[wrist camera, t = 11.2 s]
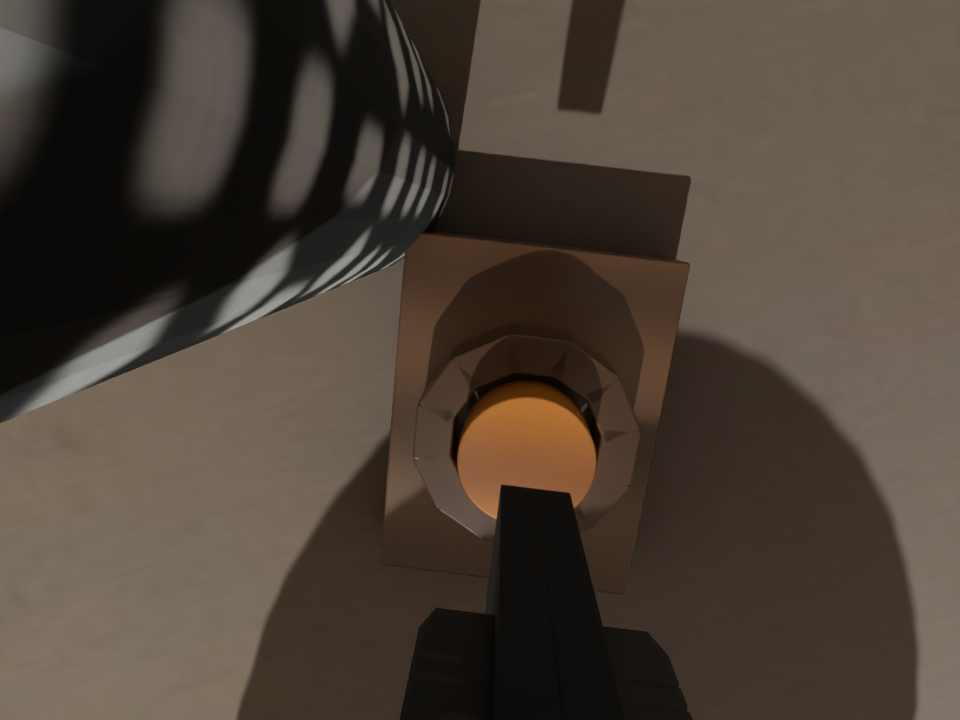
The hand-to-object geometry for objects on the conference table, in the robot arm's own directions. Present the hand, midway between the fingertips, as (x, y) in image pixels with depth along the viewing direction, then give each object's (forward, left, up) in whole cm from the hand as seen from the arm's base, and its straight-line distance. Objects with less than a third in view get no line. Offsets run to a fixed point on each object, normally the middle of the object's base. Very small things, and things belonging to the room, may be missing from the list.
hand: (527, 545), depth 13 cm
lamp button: (0, 0, -6) cm, 6 cm away
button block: (0, 0, -9) cm, 9 cm away
